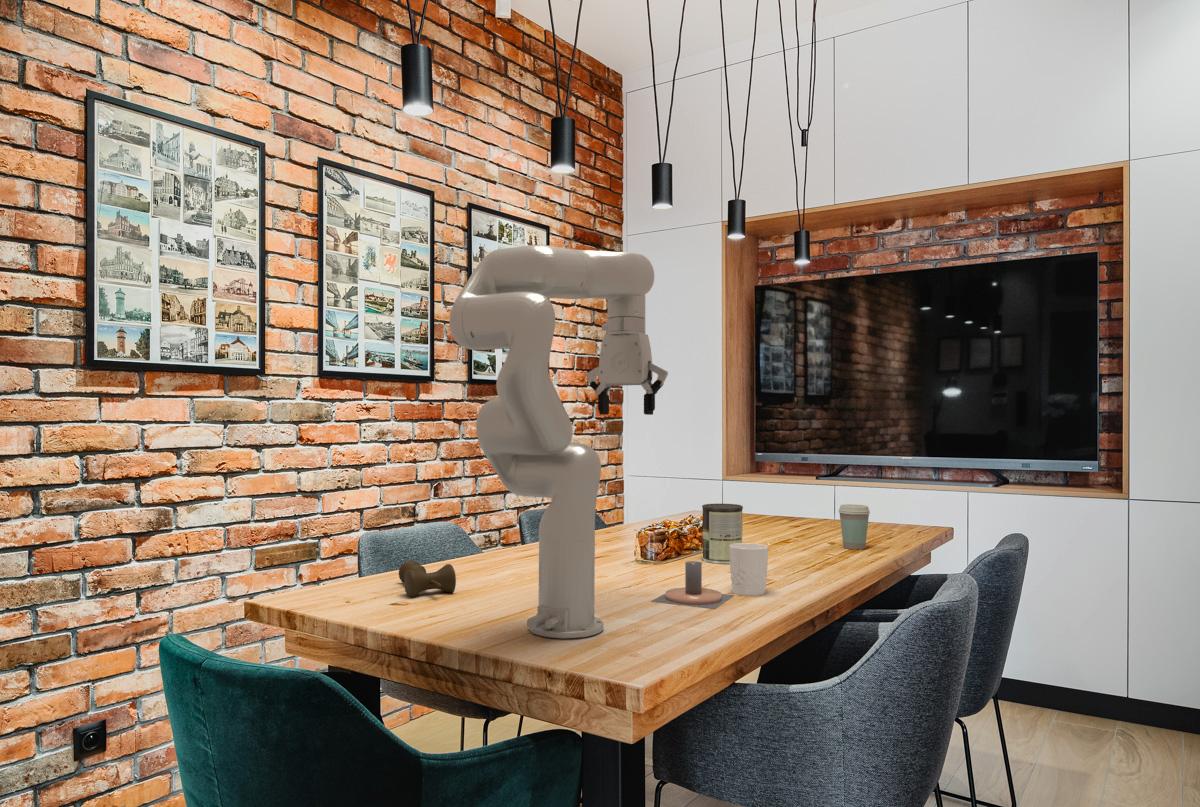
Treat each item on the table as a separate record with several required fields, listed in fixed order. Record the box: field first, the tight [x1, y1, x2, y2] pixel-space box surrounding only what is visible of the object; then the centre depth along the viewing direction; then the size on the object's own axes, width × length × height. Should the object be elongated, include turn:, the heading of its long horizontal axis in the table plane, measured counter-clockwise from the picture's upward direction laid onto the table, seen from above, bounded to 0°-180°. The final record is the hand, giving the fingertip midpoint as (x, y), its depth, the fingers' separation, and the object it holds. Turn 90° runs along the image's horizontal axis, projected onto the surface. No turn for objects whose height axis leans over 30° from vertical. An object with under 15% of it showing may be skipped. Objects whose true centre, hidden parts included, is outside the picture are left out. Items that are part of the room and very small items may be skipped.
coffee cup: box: [838, 504, 871, 551], centre depth 221 cm, size 8×8×12 cm
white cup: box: [729, 542, 769, 597], centre depth 160 cm, size 8×8×10 cm
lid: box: [665, 560, 723, 605], centre depth 153 cm, size 11×11×7 cm
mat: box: [649, 592, 736, 610], centre depth 153 cm, size 13×13×1 cm
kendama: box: [398, 560, 457, 598], centre depth 162 cm, size 6×10×20 cm
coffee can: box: [701, 503, 744, 565], centre depth 200 cm, size 10×10×14 cm
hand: (626, 414), depth 154 cm, fingers open, 9 cm apart
